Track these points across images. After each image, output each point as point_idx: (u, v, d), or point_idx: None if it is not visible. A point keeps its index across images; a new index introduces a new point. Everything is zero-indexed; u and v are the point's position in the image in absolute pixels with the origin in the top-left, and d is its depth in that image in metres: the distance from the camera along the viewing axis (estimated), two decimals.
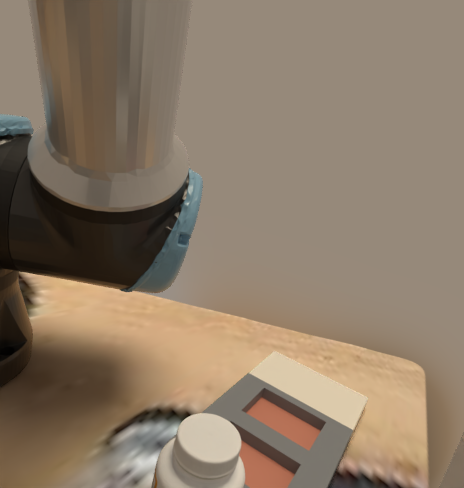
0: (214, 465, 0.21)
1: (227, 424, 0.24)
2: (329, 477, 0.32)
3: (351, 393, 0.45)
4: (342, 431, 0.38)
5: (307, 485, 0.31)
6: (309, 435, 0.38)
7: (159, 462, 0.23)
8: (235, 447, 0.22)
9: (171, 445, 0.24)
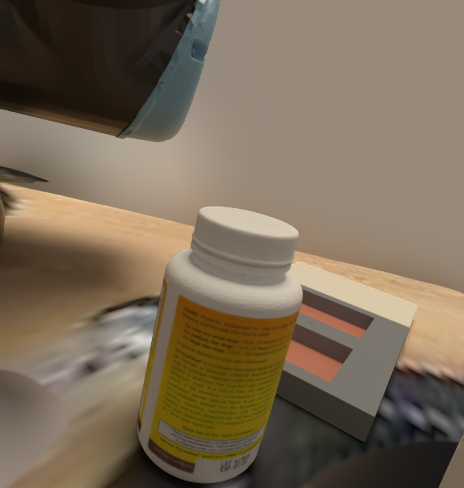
0: (262, 239, 0.13)
1: (272, 219, 0.16)
2: (393, 363, 0.24)
3: (398, 300, 0.36)
4: (396, 327, 0.30)
5: (366, 367, 0.23)
6: (354, 333, 0.30)
7: (170, 262, 0.14)
8: (291, 231, 0.14)
9: (187, 250, 0.15)
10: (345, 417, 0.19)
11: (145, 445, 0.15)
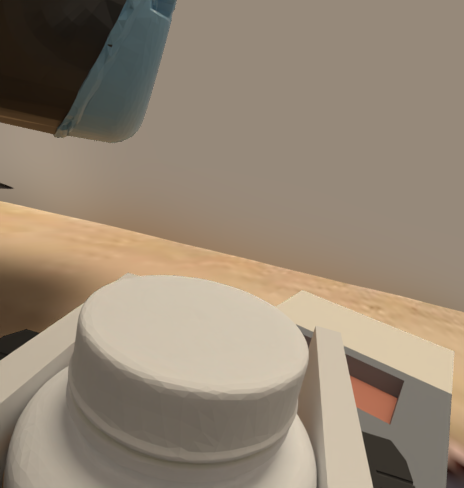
0: (216, 405, 0.05)
1: (255, 301, 0.08)
2: (443, 473, 0.16)
3: (428, 345, 0.29)
4: (435, 395, 0.22)
5: None
6: (377, 402, 0.22)
7: (25, 411, 0.07)
8: (291, 352, 0.06)
9: None
10: None
11: None
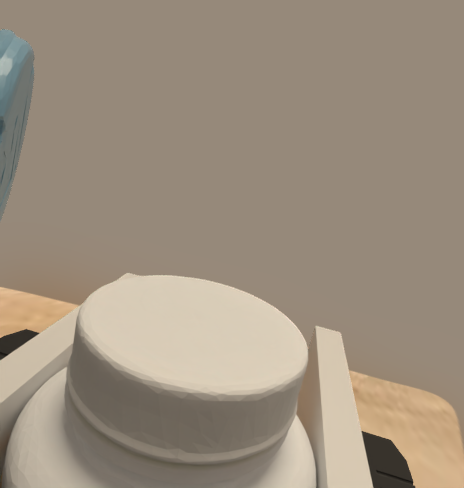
0: (215, 405, 0.05)
1: (254, 302, 0.08)
2: None
3: None
4: None
5: None
6: None
7: (23, 412, 0.07)
8: (291, 353, 0.06)
9: None
10: None
11: None
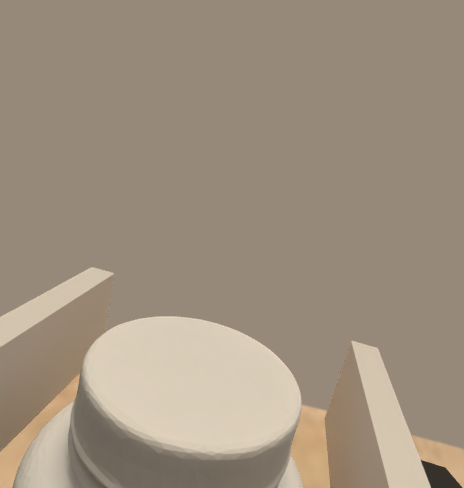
0: (212, 465, 0.05)
1: (251, 345, 0.08)
2: None
3: None
4: None
5: None
6: None
7: (27, 454, 0.07)
8: (285, 404, 0.06)
9: None
10: None
11: None
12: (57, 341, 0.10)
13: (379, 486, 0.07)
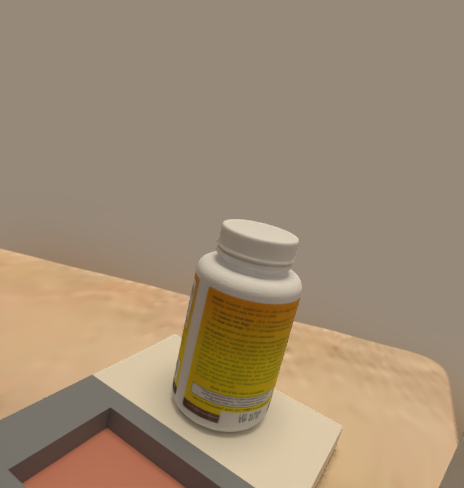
0: (271, 245, 0.17)
1: (279, 229, 0.20)
2: None
3: (309, 417, 0.22)
4: None
5: None
6: None
7: (200, 262, 0.19)
8: (292, 239, 0.18)
9: (212, 253, 0.20)
10: None
11: (180, 403, 0.19)
12: None
13: None
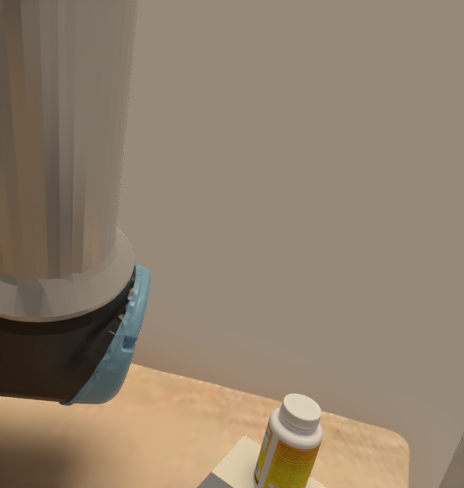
0: (309, 421, 0.36)
1: (310, 400, 0.39)
2: None
3: None
4: None
5: None
6: None
7: (272, 421, 0.38)
8: (318, 412, 0.37)
9: (276, 412, 0.39)
10: None
11: None
12: None
13: None
